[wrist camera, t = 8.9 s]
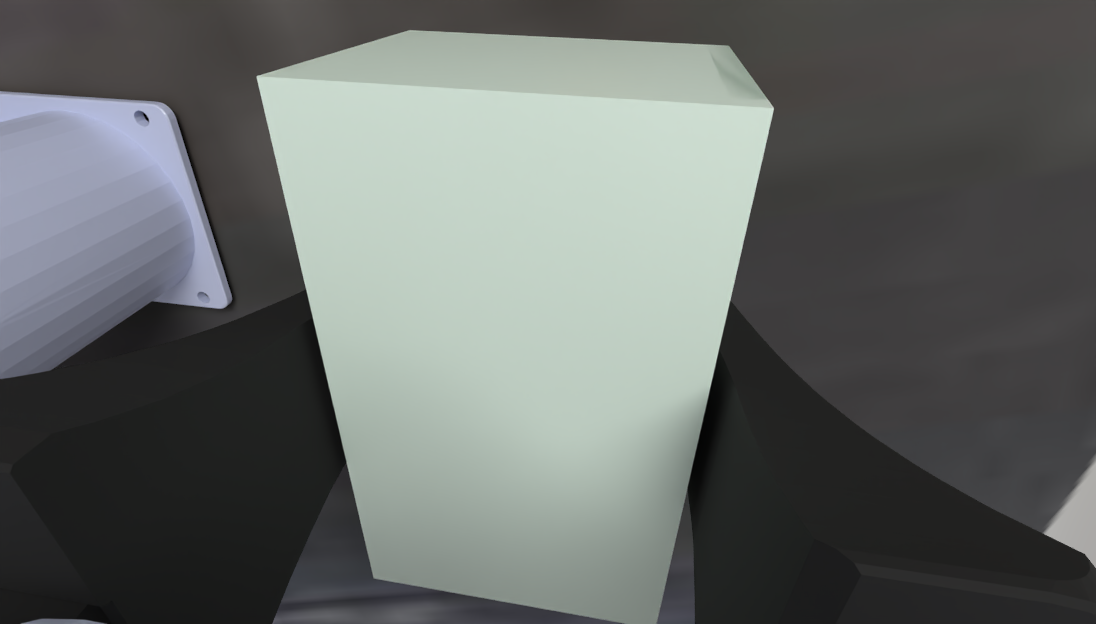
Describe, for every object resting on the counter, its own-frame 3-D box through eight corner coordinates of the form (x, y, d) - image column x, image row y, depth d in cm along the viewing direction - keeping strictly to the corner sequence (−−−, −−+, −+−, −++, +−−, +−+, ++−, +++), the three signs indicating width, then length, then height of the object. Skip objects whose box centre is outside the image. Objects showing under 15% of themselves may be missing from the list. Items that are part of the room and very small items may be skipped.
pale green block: (446, 420, 16) (373, 578, 12) (409, 30, 11) (256, 76, 7) (656, 449, 15) (655, 628, 11) (728, 45, 10) (774, 108, 6)
